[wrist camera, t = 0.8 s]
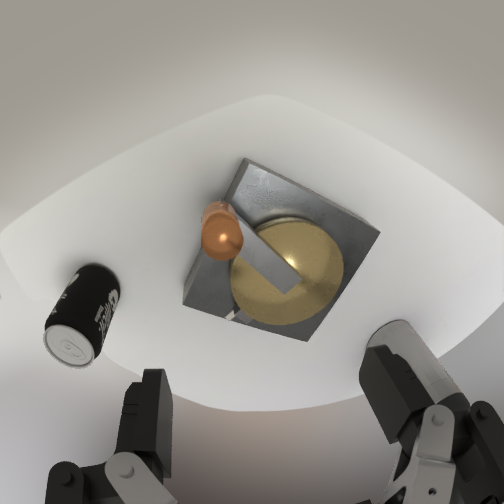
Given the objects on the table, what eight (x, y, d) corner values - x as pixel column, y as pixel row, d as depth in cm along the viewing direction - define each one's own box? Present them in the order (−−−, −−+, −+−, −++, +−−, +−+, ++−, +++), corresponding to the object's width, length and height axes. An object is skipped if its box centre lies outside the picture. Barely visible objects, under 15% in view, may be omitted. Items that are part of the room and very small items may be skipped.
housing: (365, 220, 37) (381, 232, 33) (299, 323, 42) (307, 343, 39) (244, 157, 31) (250, 164, 28) (184, 285, 37) (182, 305, 33)
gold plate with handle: (355, 266, 34) (388, 305, 27) (273, 335, 37) (287, 383, 30) (252, 152, 27) (270, 168, 20) (159, 247, 30) (146, 290, 23)
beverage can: (94, 252, 33) (57, 311, 23) (131, 288, 36) (110, 355, 26) (66, 282, 34) (30, 341, 24) (102, 314, 37) (77, 379, 27)
